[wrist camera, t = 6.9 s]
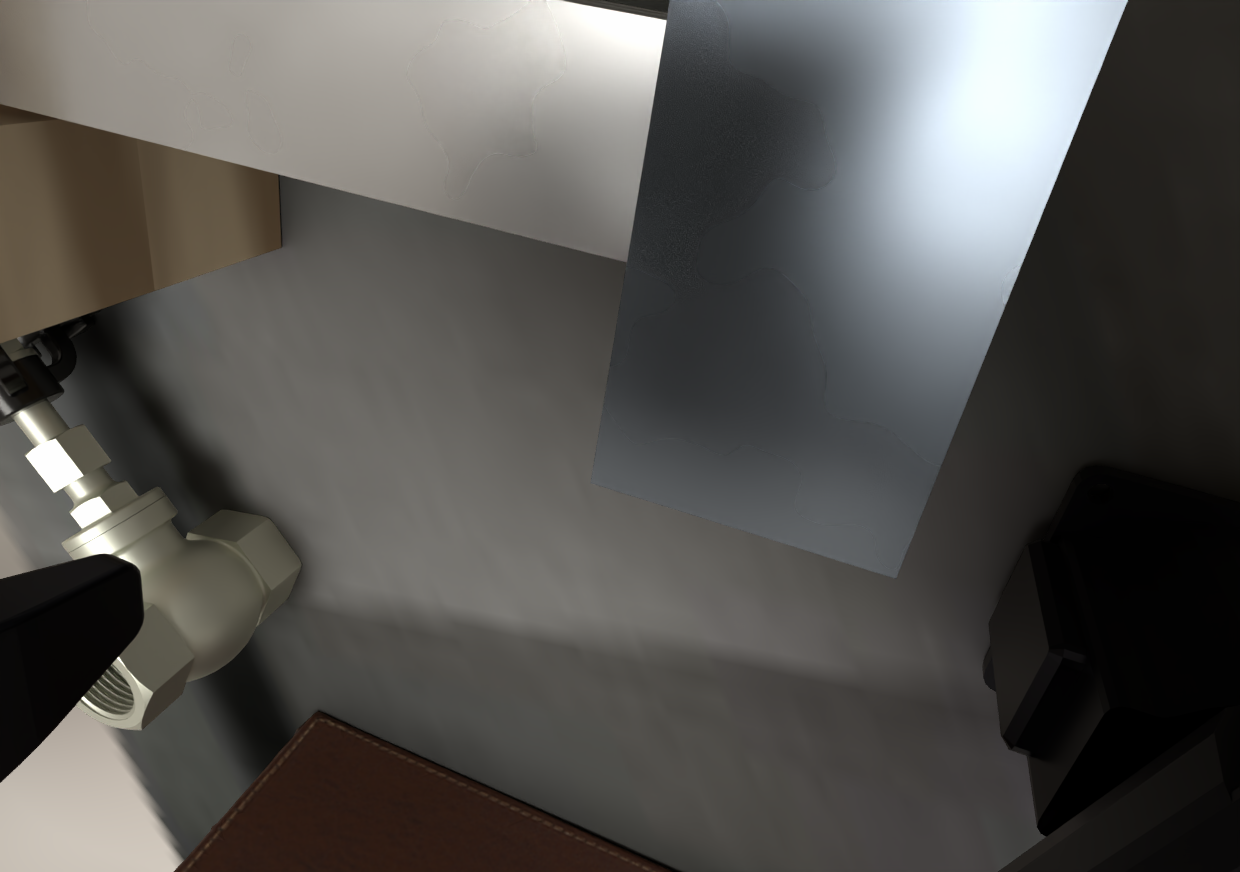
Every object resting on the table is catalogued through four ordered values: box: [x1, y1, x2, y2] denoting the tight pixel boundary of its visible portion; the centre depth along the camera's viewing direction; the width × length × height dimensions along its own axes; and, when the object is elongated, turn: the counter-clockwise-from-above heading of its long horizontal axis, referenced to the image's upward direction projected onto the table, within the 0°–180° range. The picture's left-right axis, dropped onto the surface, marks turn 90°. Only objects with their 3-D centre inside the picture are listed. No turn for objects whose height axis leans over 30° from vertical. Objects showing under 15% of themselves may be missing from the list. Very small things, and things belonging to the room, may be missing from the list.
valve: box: [0, 308, 302, 730], centre depth 25 cm, size 7×7×12 cm
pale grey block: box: [0, 0, 1128, 579], centre depth 12 cm, size 17×5×9 cm, turn 82°
